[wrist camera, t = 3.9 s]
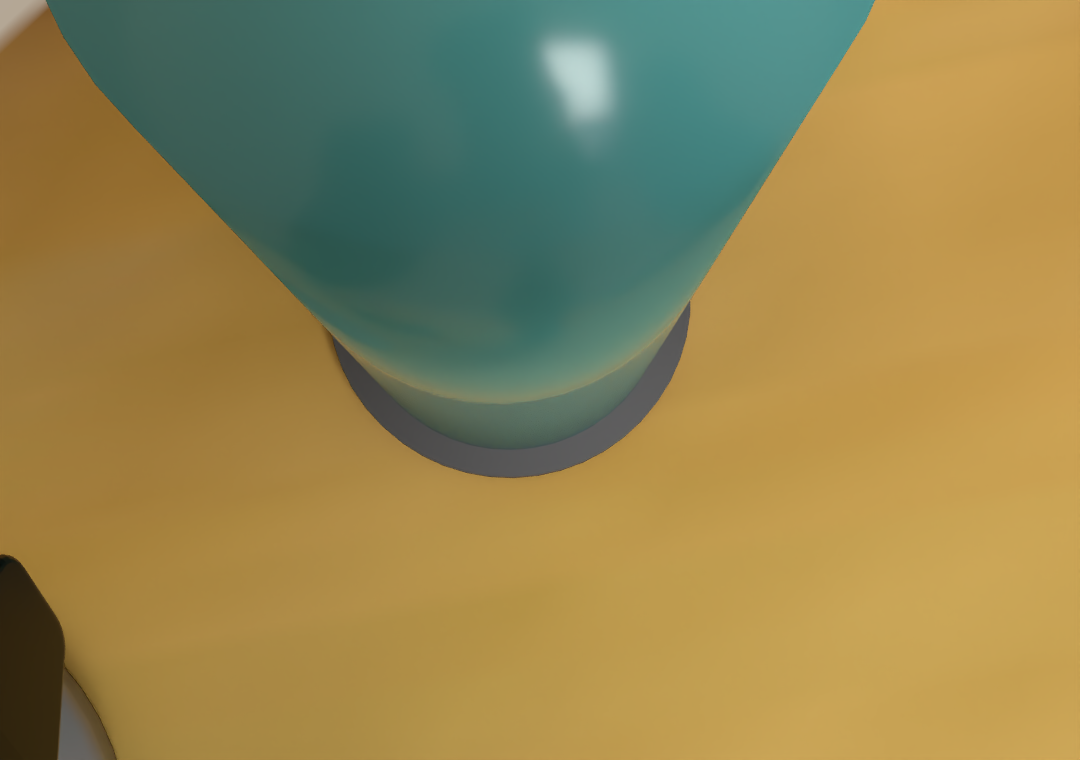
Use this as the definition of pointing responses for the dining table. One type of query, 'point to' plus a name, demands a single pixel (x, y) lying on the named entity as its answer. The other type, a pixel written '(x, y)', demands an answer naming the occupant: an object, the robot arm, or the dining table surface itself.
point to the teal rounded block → (475, 171)
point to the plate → (81, 727)
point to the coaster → (531, 458)
